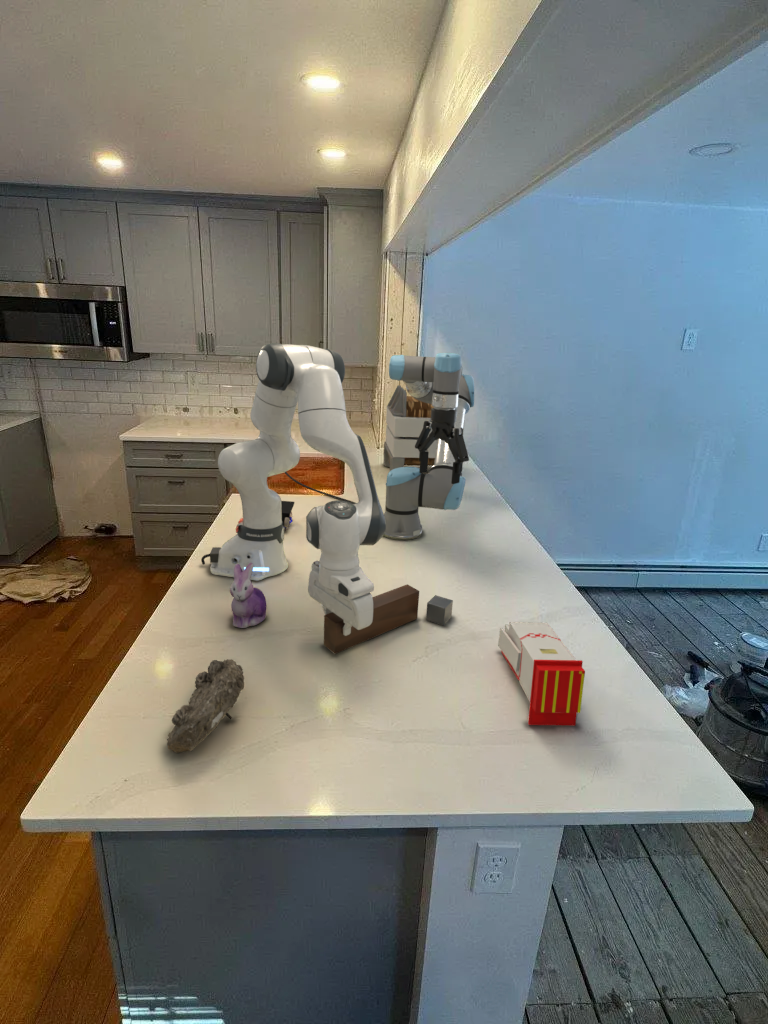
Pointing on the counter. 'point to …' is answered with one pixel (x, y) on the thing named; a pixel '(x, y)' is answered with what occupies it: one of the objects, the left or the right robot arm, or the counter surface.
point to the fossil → (206, 705)
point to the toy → (544, 672)
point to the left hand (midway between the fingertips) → (338, 628)
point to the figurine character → (286, 513)
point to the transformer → (406, 430)
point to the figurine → (246, 599)
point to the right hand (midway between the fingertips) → (438, 477)
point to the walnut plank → (374, 619)
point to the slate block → (439, 610)
